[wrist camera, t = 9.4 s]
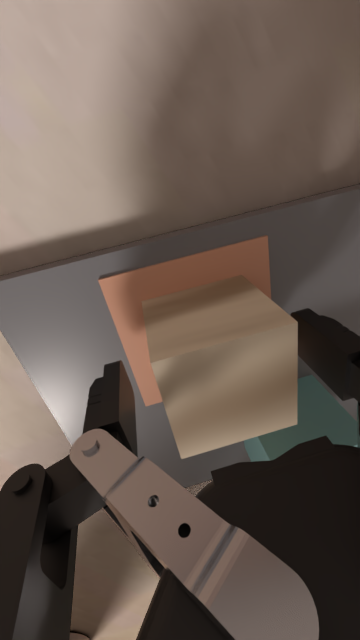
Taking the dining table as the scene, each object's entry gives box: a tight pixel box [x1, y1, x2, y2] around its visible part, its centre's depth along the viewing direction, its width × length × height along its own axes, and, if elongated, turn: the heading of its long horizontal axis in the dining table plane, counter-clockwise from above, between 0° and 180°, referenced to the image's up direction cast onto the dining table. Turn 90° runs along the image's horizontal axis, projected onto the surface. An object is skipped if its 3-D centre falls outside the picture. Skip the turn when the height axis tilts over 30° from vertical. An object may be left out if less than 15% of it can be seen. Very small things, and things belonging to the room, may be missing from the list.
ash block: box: [141, 275, 298, 459], centre depth 12 cm, size 5×5×5 cm
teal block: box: [244, 375, 358, 462], centre depth 17 cm, size 5×5×5 cm
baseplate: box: [0, 184, 360, 488], centre depth 17 cm, size 20×18×1 cm
